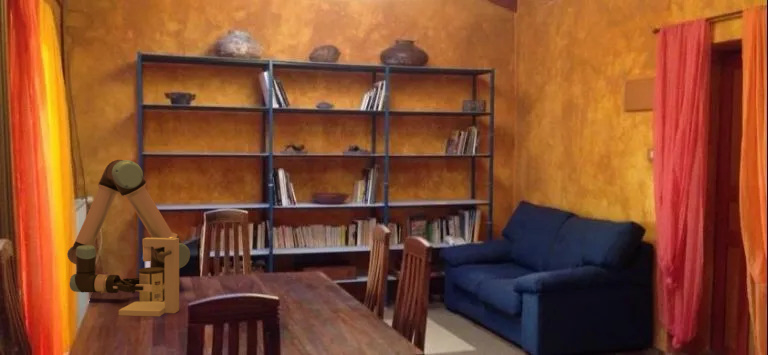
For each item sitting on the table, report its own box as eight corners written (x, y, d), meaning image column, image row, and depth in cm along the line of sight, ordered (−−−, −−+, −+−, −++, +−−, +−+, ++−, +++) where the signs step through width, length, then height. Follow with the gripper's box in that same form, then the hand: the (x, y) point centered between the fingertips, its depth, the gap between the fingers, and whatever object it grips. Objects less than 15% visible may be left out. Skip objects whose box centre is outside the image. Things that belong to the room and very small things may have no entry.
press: (135, 305, 285) (135, 235, 284) (183, 307, 284) (183, 236, 283) (114, 317, 265) (113, 241, 264) (165, 319, 264) (165, 242, 263)
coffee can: (149, 298, 298) (149, 266, 298) (170, 300, 295) (169, 267, 295) (133, 304, 289) (133, 270, 288) (154, 306, 285) (154, 271, 285)
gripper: (121, 286, 305) (169, 287, 304) (94, 299, 280) (146, 300, 279) (121, 269, 305) (169, 270, 304) (94, 280, 280) (146, 281, 279)
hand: (158, 284), depth 291 cm, fingers open, 13 cm apart
